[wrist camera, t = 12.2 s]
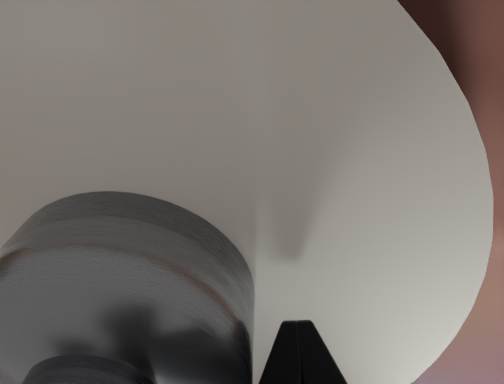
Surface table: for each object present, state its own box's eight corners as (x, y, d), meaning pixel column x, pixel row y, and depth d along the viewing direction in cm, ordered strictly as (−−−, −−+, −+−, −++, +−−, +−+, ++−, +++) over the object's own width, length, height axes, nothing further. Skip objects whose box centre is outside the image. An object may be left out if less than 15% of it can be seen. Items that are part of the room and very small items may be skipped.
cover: (305, 281, 10) (327, 451, 7) (174, 386, 13) (142, 541, 10) (70, 136, 8) (-82, 275, 5) (-22, 302, 11) (-156, 462, 8)
